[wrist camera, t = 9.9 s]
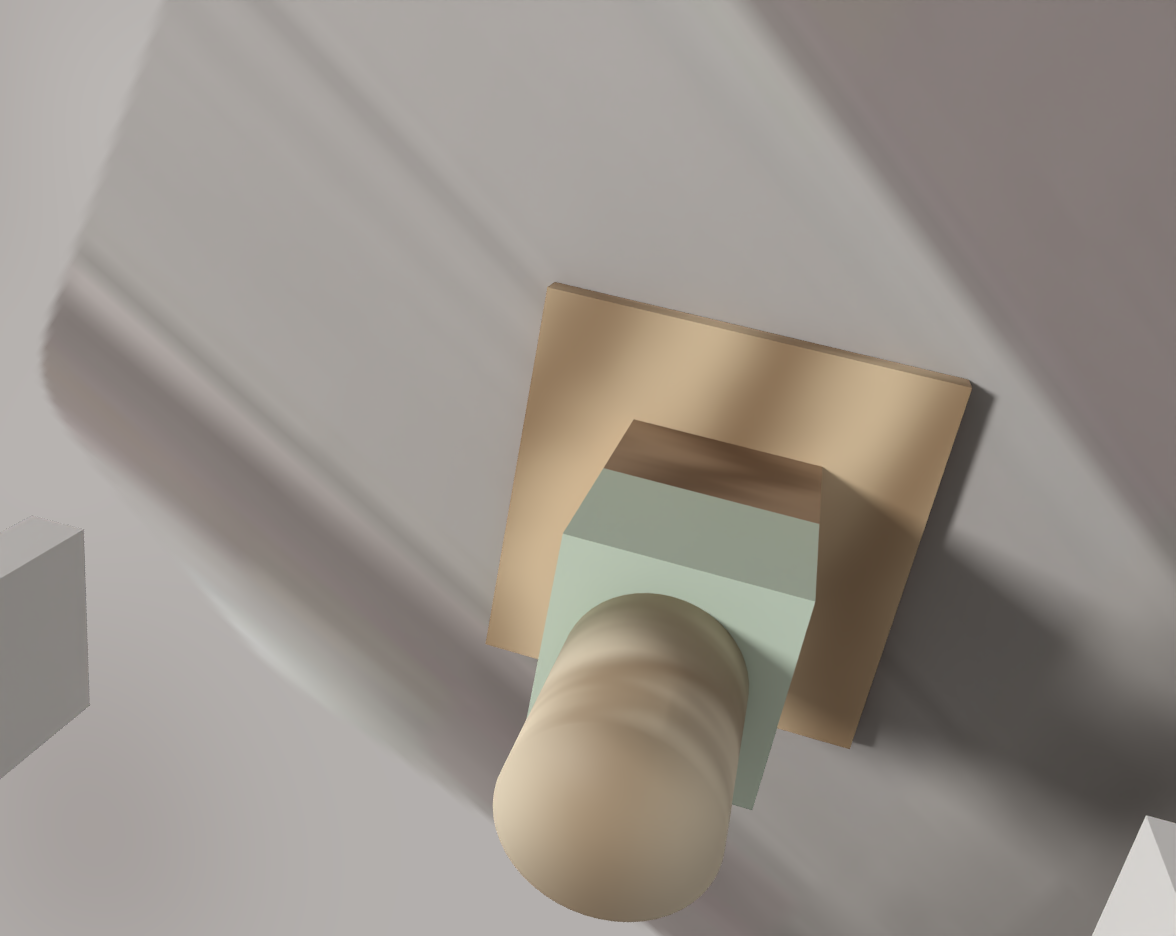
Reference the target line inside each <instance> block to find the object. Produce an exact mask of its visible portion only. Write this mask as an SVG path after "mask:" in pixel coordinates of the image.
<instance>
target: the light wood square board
mask: <svg viewBox="0 0 1176 936" xmlns="http://www.w3.org/2000/svg"><path fill="white" fill-rule="evenodd" d="M971 390H972V386H971V384H970V382H969V380H967V379H963V378H959V377H955V376H950V375H946V374H942V373H938V372H934V371H929V370H925V369H921V368H917V367H912V366H908V365H904V364H900V363H895V362H891V361H887V360H883V359H879V358H874V357H870V356H866V355H862V354H857V353H853V352H849V351H845V350H840V349H836V348H832V347H828V346H824V345H819V344H815V343H811V342H807V341H802V340H798V339H794V338H790V337H785V336H781V335H777V334H773V333H769V332H764V331H760V330H756V329H752V328H747V327H743V326H739V325H735V324H730V323H726V322H722V321H718V320H714V319H709V318H705V317H701V316H697V315H692V314H688V313H684V312H680V311H675V310H671V309H667V308H663V307H659V306H654V305H650V304H646V303H642V302H637V301H633V300H629V299H625V298H620V297H616V296H612V295H608V294H604V293H599V292H595V291H591V290H587V289H582V288H578V287H574V286H570V285H565V284H561V283H557V282H554V283H553V284H551V285H550V286H548V287H547V293H546V298H545V304H544V310H543V316H542V321H541V327H540V333H539V339H538V345H537V350H536V356H535V362H534V368H533V373H532V379H531V385H530V391H529V397H528V402H527V408H526V414H525V420H524V425H523V431H522V437H521V443H520V448H519V454H518V460H517V466H516V472H515V477H514V483H513V489H512V495H511V500H510V506H509V512H508V518H507V524H506V529H505V535H504V541H503V547H502V552H501V558H500V564H499V570H498V576H497V581H496V587H495V593H494V599H493V604H492V610H491V616H490V622H489V627H488V633H487V639H486V644H487V645H491V646H494V647H498V648H501V649H505V650H508V651H512V652H515V653H519V654H522V655H525V656H529V657H532V658H536V659H538V658H539V653H540V648H541V643H542V638H543V633H544V627H545V622H546V617H547V612H548V607H549V602H550V597H551V592H552V586H553V581H554V576H555V571H556V566H557V561H558V556H559V550H560V545H561V540H562V535H563V532H564V531H565V529H566V528H567V526H568V524H569V523H570V521H571V520H572V518H573V516H574V515H575V513H576V511H577V510H578V508H579V507H580V505H581V503H582V502H583V500H584V499H585V497H586V495H587V494H588V492H589V490H590V489H591V487H592V486H593V484H594V482H595V481H596V479H597V478H598V476H599V474H600V473H601V471H602V470H603V468H604V466H605V465H606V463H607V462H608V460H609V458H610V457H611V455H612V453H613V452H614V450H615V449H616V447H617V445H618V444H619V442H620V441H621V439H622V437H623V436H624V434H625V432H626V431H627V429H628V428H629V426H630V424H631V423H632V421H633V420H634V419H635V420H639V421H643V422H647V423H651V424H655V425H659V426H663V427H667V428H671V429H675V430H679V431H683V432H687V433H690V434H694V435H698V436H702V437H706V438H710V439H714V440H718V441H722V442H726V443H730V444H734V445H738V446H742V447H746V448H750V449H754V450H758V451H762V452H766V453H770V454H774V455H778V456H782V457H786V458H790V459H794V460H798V461H802V462H806V463H810V464H814V465H818V466H821V467H822V484H821V504H820V523H819V540H818V559H817V579H816V598H815V604H814V608H813V611H812V614H811V617H810V621H809V624H808V627H807V631H806V634H805V637H804V641H803V644H802V647H801V650H800V654H799V657H798V660H797V664H796V667H795V670H794V674H793V677H792V680H791V683H790V687H789V690H788V693H787V697H786V700H785V703H784V707H783V710H782V713H781V716H780V720H779V723H778V726H777V728H778V729H782V730H785V731H789V732H792V733H796V734H799V735H803V736H806V737H810V738H813V739H816V740H820V741H823V742H827V743H830V744H834V745H837V746H841V747H844V748H848V749H850V747H851V744H852V741H853V738H854V735H855V732H856V729H857V726H858V723H859V720H860V717H861V714H862V711H863V708H864V705H865V702H866V699H867V696H868V693H869V691H870V688H871V685H872V682H873V679H874V676H875V673H876V670H877V667H878V664H879V661H880V658H881V655H882V652H883V649H884V646H885V643H886V640H887V638H888V635H889V632H890V629H891V626H892V623H893V620H894V617H895V614H896V611H897V608H898V605H899V602H900V599H901V596H902V593H903V590H904V587H905V584H906V582H907V579H908V576H909V573H910V570H911V567H912V564H913V561H914V558H915V555H916V552H917V549H918V546H919V543H920V540H921V537H922V534H923V531H924V528H925V526H926V523H927V520H928V517H929V514H930V511H931V508H932V505H933V502H934V499H935V496H936V493H937V490H938V487H939V484H940V481H941V478H942V475H943V473H944V470H945V467H946V464H947V461H948V458H949V455H950V452H951V449H952V446H953V443H954V440H955V437H956V434H957V431H958V428H959V425H960V422H961V419H962V417H963V414H964V411H965V408H966V405H967V402H968V399H969V396H970V393H971Z"/></svg>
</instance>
